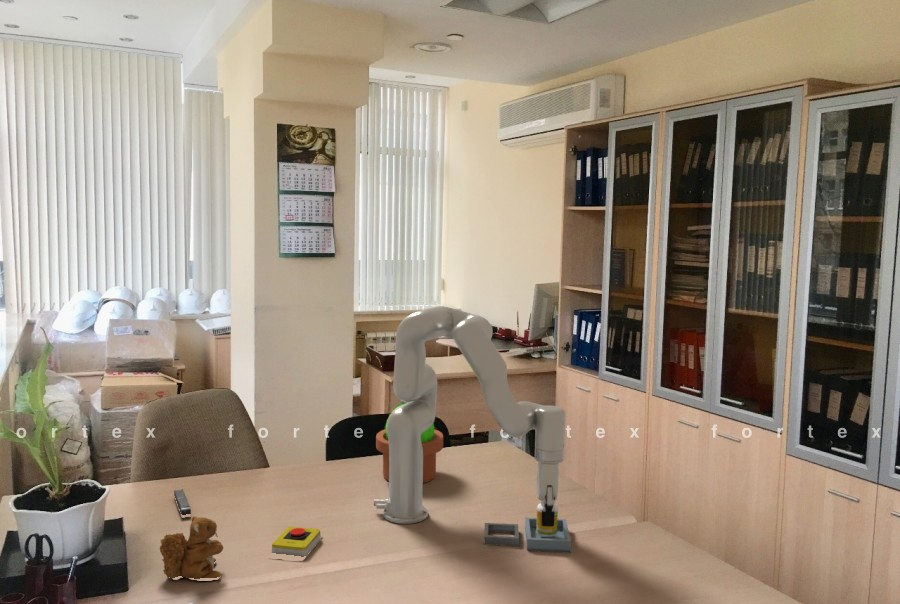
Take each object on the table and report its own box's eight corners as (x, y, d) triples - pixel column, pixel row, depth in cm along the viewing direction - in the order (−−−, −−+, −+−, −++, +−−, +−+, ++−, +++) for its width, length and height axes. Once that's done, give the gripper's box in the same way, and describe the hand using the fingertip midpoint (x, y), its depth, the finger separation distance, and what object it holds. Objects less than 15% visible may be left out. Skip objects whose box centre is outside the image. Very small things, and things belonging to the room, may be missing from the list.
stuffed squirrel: (223, 580, 164) (222, 525, 162) (157, 589, 160) (155, 532, 158) (223, 561, 173) (222, 508, 172) (161, 568, 169) (159, 514, 168)
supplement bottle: (556, 538, 185) (557, 502, 184) (535, 536, 186) (536, 500, 185) (557, 529, 190) (558, 494, 189) (537, 527, 191) (538, 492, 190)
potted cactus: (441, 488, 225) (443, 410, 222) (372, 486, 225) (372, 408, 222) (443, 465, 247) (444, 394, 244) (379, 464, 247) (380, 392, 244)
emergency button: (324, 522, 188) (302, 547, 173) (324, 538, 188) (302, 564, 173) (290, 519, 189) (266, 543, 175) (290, 535, 190) (266, 560, 175)
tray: (527, 550, 182) (527, 539, 181) (525, 527, 196) (525, 517, 195) (570, 552, 181) (571, 541, 181) (565, 529, 195) (565, 519, 195)
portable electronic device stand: (191, 519, 199) (191, 508, 198) (181, 520, 197) (181, 510, 197) (182, 497, 214) (182, 487, 214) (173, 498, 213) (173, 488, 213)
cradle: (483, 544, 185) (484, 536, 185) (484, 529, 194) (484, 522, 194) (518, 545, 184) (519, 538, 184) (517, 531, 193) (518, 524, 193)
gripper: (533, 443, 195) (530, 507, 197) (536, 463, 178) (534, 534, 180) (560, 444, 194) (558, 509, 196) (567, 465, 177) (564, 535, 179)
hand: (546, 520), depth 188 cm, fingers closed on supplement bottle, 5 cm apart
